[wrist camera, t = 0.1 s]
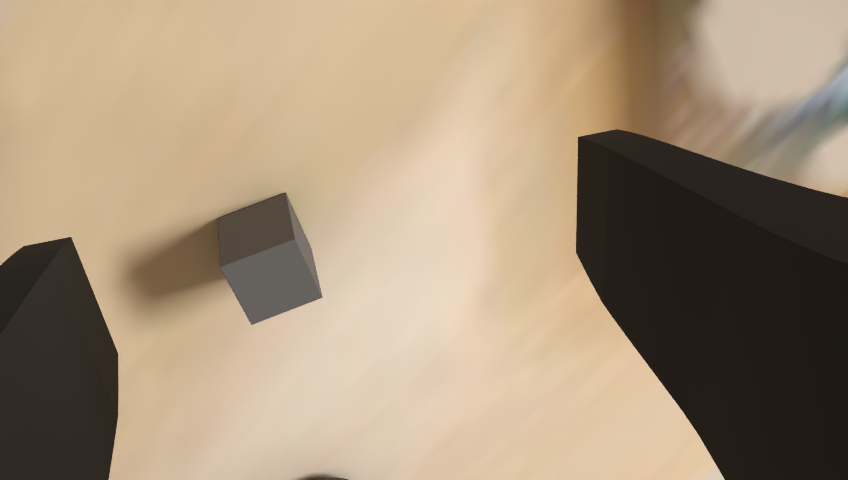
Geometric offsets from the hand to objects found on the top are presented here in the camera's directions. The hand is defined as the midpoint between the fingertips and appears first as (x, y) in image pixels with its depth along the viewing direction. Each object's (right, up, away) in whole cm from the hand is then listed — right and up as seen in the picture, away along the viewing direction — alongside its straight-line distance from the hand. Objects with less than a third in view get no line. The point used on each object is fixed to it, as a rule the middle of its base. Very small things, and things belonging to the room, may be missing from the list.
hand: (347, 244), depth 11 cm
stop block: (-3, 0, +11) cm, 12 cm away
